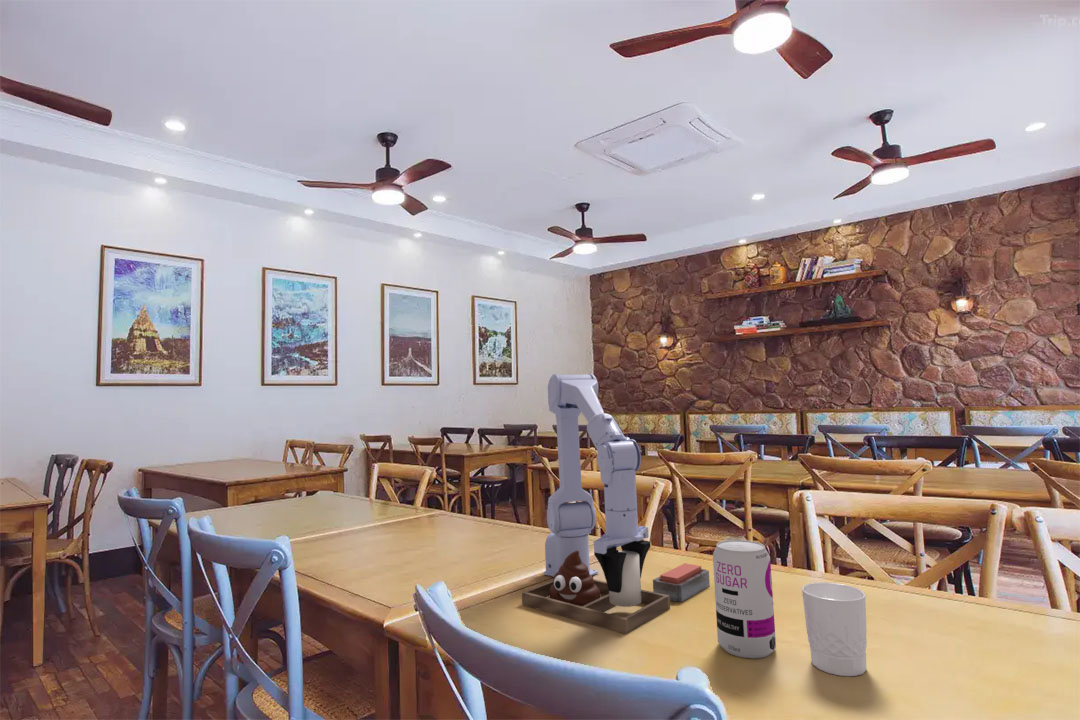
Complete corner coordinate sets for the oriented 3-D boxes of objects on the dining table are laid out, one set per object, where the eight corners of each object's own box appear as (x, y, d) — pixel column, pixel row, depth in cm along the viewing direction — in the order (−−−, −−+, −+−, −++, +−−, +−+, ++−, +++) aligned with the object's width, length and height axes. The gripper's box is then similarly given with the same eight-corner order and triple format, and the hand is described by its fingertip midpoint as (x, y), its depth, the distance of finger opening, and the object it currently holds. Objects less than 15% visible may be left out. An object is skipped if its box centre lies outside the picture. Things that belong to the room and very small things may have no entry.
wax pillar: (603, 602, 100) (601, 555, 101) (621, 593, 104) (619, 549, 105) (629, 609, 96) (627, 560, 97) (647, 599, 100) (645, 553, 101)
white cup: (795, 655, 82) (791, 584, 83) (847, 651, 83) (842, 580, 83) (827, 681, 74) (822, 602, 75) (884, 676, 75) (878, 598, 76)
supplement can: (774, 640, 87) (767, 540, 89) (778, 663, 80) (770, 553, 81) (719, 634, 90) (713, 538, 91) (717, 657, 82) (711, 550, 83)
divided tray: (522, 604, 107) (521, 592, 107) (570, 584, 118) (569, 574, 118) (626, 633, 92) (625, 619, 92) (670, 608, 102) (669, 595, 102)
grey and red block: (652, 596, 109) (651, 580, 109) (683, 580, 118) (682, 565, 118) (681, 602, 105) (680, 586, 105) (710, 585, 114) (709, 570, 114)
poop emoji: (606, 596, 110) (604, 547, 111) (591, 611, 102) (589, 558, 103) (559, 591, 114) (557, 543, 115) (541, 605, 107) (539, 554, 107)
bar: (660, 591, 109) (660, 575, 109) (685, 578, 116) (684, 563, 117) (678, 594, 107) (677, 578, 107) (702, 581, 114) (701, 566, 114)
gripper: (616, 517, 94) (620, 602, 92) (661, 504, 104) (665, 580, 103) (582, 513, 98) (586, 594, 97) (628, 501, 109) (632, 573, 108)
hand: (624, 586), depth 100 cm, fingers closed on wax pillar, 6 cm apart
